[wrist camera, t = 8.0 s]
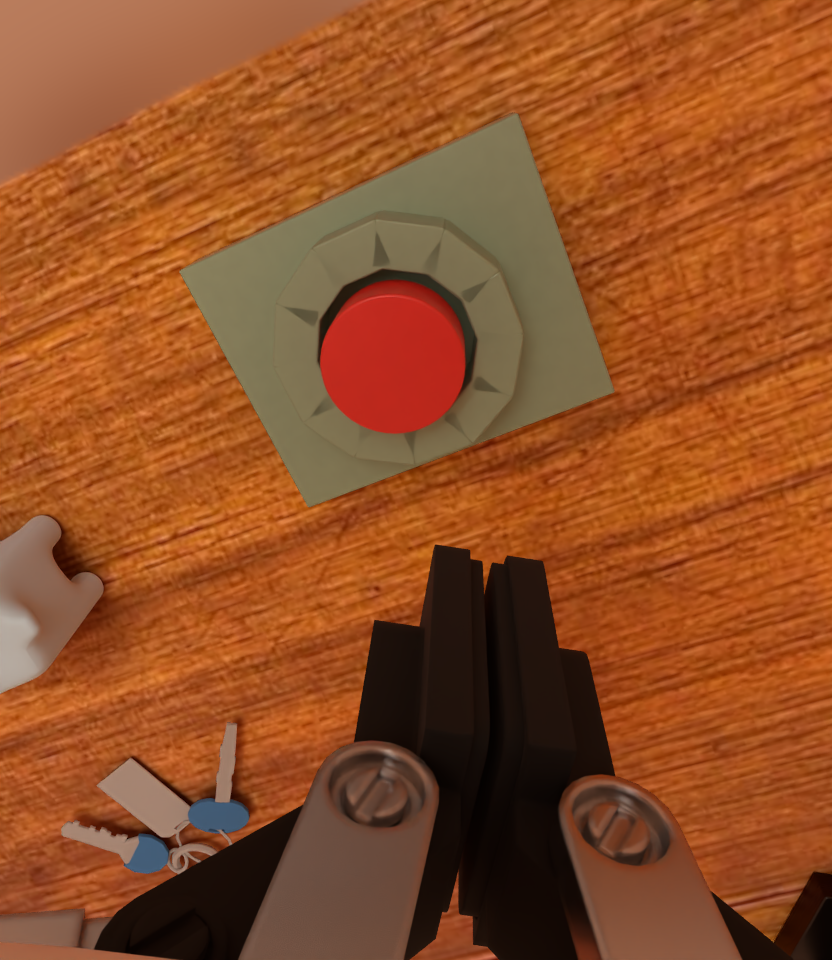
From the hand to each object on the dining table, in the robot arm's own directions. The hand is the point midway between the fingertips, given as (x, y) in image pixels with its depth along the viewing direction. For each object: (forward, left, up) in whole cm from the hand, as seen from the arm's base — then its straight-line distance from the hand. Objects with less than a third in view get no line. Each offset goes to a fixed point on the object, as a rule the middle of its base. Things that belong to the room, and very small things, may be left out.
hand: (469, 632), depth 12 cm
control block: (-1, -2, -14) cm, 14 cm away
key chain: (+23, -9, -14) cm, 28 cm away
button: (-1, -2, -10) cm, 11 cm away
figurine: (+11, -15, -14) cm, 23 cm away
